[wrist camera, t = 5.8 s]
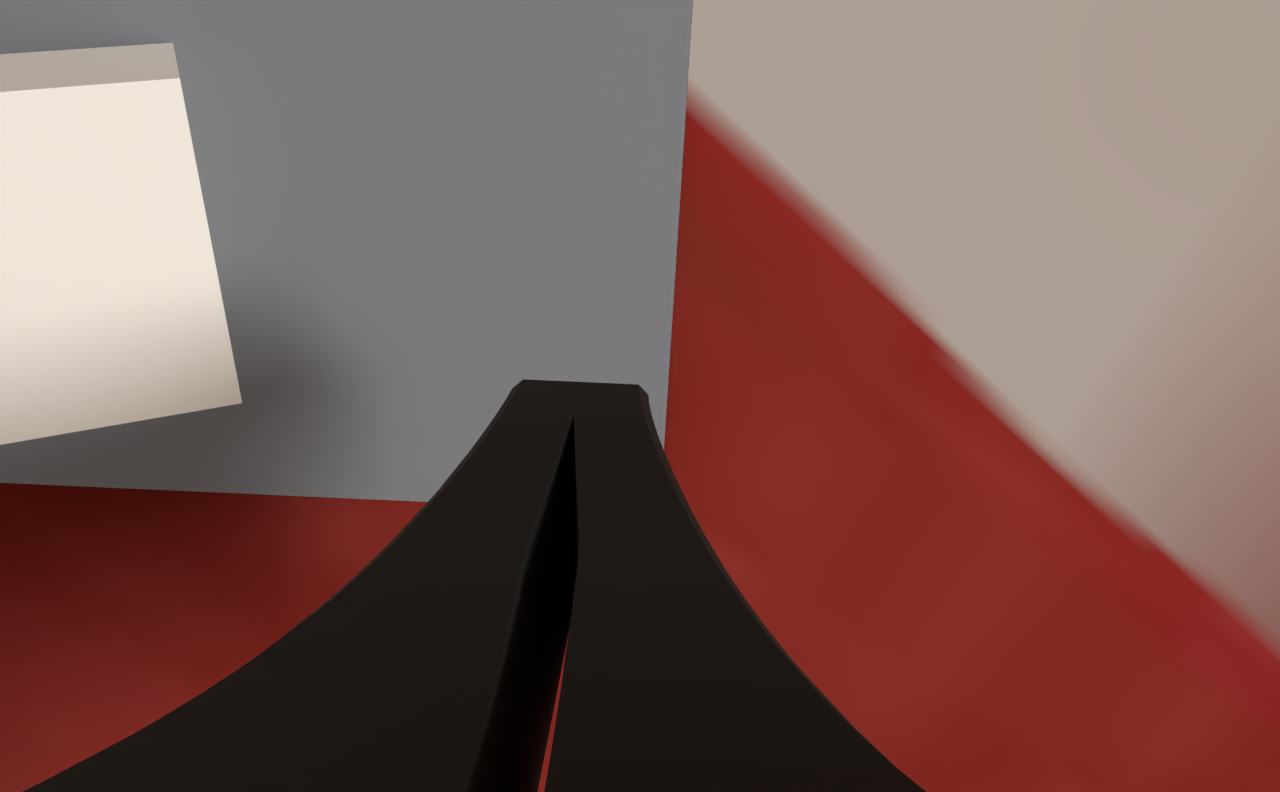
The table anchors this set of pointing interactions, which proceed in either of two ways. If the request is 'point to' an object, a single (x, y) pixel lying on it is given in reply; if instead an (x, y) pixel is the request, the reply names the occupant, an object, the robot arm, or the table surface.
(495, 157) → the mat
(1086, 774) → the table surface
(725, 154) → the table surface
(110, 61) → the domino
